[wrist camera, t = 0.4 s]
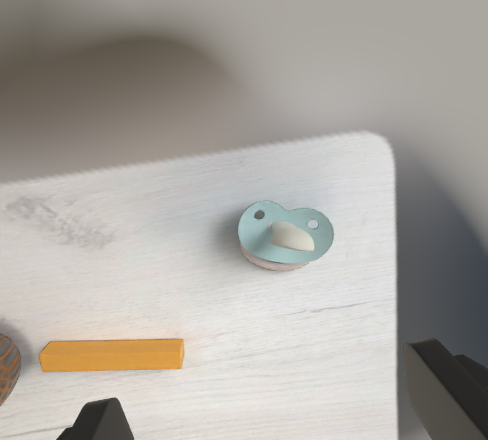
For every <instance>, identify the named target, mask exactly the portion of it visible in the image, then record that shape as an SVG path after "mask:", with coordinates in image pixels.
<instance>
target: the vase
mask: <svg viewBox="0 0 488 440" xmlns="http://www.w3.org/2000/svg"><path fill="white" fill-rule="evenodd" d="M20 370H21V358H20V354H19V351H18V349H17V347H16V345H15V344H14V343H13V342H12V341H11V340H10V339H9V338H7V337H6V336H4V335H2V334H0V406H1V405H2V404H3V403H4V401H5V400H6V399H7V398H8V396H9V395H10V393H11V392H12V390H13V388H14V386H15V384H16V382H17V380H18V377H19V374H20Z"/></svg>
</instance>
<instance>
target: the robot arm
mask: <svg viewBox="0 0 488 440" xmlns="http://www.w3.org/2000/svg"><path fill="white" fill-rule="evenodd" d="M403 351H404V367H405V382H406V391H407V394H408V398H409V401H410V403H411V405H412V408H413V410H414V412H415V413H416V415H417V416H418V418H419V420H420V421H421V423H422V424H423V426H424V428H425V429H426V431H427V432H428V434H429V435H430V437H431V439H432V440H488V369H487V368H486V367H484V366H482V365H480V364H479V363H477V362H475V361H473V360H472V359H470V358H468V357H466V356H465V355H463V354H462V355H457V356H453V355H452V354H451V353H449V351H448V350H447V349H446V348H445V347H444V346H443V345H442V344H441V343H440V342H439V341H438V340H437V339H435V338H429V339H424V340H419V341H414V342H409V343H405V344H404V347H403ZM56 440H134V437H133V434H132V432H131V429H130V427H129V424H128V422H127V419H126V417H125V414H124V412H123V409H122V407H121V404H120V402H119V400H118V399H117V398H109V399H104V400H98V401H93V402H88V403H86V404H85V405H84V406H83V408H82V410H81V412H80V413H79V415H78V417H77V419H76V421H75V423H74V425H73V427H70V428H66V429H65V430H64V431H63V433H62V434H61V435H60V436H59V437H58V438H57V439H56Z"/></svg>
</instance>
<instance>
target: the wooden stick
mask: <svg viewBox="0 0 488 440" xmlns="http://www.w3.org/2000/svg"><path fill="white" fill-rule="evenodd" d="M183 358H184V344H183V339H160V340H111V341H62V342H49V344H48V345H47V346H46V347H45V348H44V349H43V351H42V352H41V353H40V354H39V359H40V363H41V368H42V372H63V371H106V370H148V369H181V368H182V363H183Z"/></svg>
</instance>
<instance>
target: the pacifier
mask: <svg viewBox="0 0 488 440" xmlns="http://www.w3.org/2000/svg"><path fill="white" fill-rule="evenodd" d="M259 210H261V211H263V212H264V217H263V218H262V219H255V218H254V214H255V213H256V212H257V211H259ZM310 220H317V221H318V227H317V228H315V229H311V228H309V227H308V226H307V223H308V221H310ZM238 234H239V239H240V248H241V251H242V253H243V254H244V255H245V257H246V258H247V259H248V260H250V261H251V262H252V263H254V264H256V265H258V266H260V267H263V268H266V269H270V270H276V271H288V270H294V269H298V268H301V267H303V266H305V265H307V264H308V263H309V262H311V261H314V260H316V259H318V258H320V257H321V256H322V255H323V254H325V253H326V252H327V251H328V249H329V248H330V246H331V245H332V242H333V238H334V232H333V227H332V224H331V223H330V221H329V219H328V218H327V217H326V216H325V215H323V214H322V213H321V212H319V211H316V210H314V209H309V208H299V209H294V210H292V211H286V210H285V209H284V208H283V207H282V206H280V205H279V204H277V203H274V202H271V201H260V202H256V203H254V204H252V205H251V206H249V207H248V208H247V209H246V210H245V211H244V213H243V214H242V216H241V218H240V221H239V226H238Z"/></svg>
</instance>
